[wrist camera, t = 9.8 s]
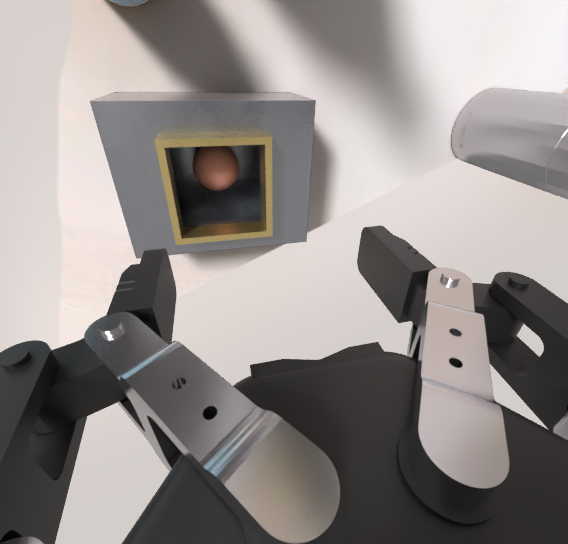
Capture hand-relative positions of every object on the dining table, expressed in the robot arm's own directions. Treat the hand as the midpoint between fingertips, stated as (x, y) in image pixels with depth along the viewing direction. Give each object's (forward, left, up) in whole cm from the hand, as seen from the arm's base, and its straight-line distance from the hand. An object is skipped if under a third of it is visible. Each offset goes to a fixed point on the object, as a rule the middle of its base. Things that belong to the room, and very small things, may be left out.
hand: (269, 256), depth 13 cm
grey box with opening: (+1, +3, -28) cm, 28 cm away
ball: (+1, +3, -25) cm, 25 cm away
